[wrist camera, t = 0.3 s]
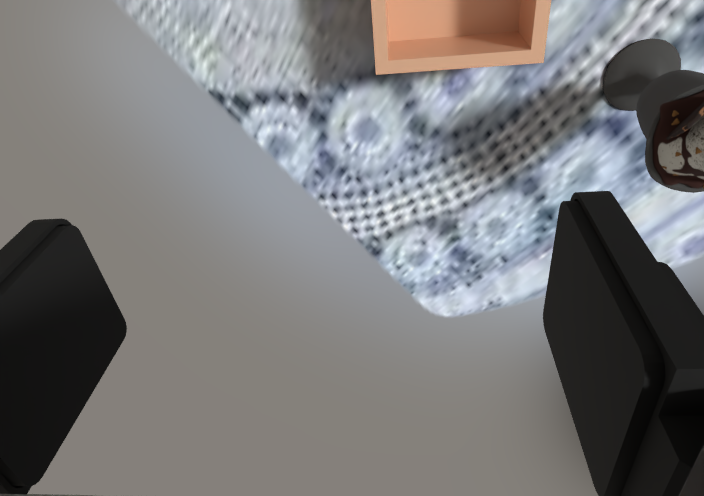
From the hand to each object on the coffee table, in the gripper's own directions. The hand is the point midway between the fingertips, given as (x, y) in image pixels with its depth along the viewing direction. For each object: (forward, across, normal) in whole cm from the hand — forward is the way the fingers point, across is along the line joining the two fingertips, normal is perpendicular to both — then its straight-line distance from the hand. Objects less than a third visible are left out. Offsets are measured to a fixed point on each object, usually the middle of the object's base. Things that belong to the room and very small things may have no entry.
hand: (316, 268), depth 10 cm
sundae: (+29, -18, +7) cm, 35 cm away
